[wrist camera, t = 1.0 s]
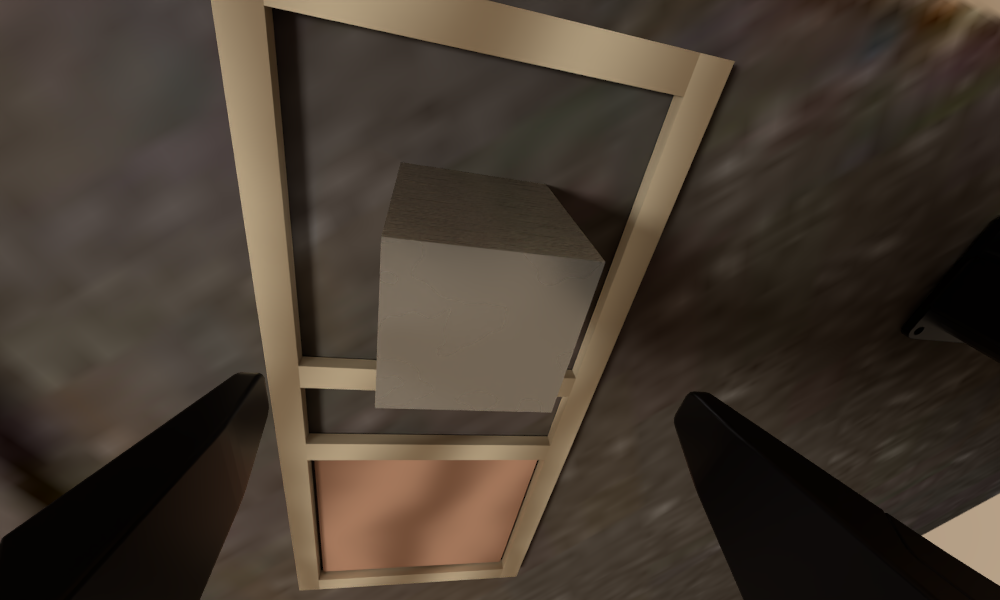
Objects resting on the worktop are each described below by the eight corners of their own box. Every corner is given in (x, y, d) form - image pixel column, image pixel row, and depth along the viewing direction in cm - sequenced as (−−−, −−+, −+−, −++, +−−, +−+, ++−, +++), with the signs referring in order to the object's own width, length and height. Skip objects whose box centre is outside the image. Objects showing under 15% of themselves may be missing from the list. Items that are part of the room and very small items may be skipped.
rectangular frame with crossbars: (723, 60, 13) (734, 61, 12) (514, 567, 30) (516, 576, 29) (212, -65, 10) (200, -71, 9) (302, 580, 26) (299, 590, 26)
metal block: (545, 183, 14) (605, 261, 9) (516, 301, 17) (551, 412, 12) (400, 161, 13) (381, 236, 8) (393, 291, 16) (375, 408, 11)
